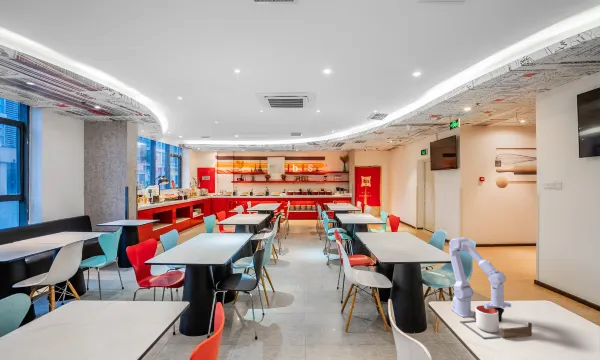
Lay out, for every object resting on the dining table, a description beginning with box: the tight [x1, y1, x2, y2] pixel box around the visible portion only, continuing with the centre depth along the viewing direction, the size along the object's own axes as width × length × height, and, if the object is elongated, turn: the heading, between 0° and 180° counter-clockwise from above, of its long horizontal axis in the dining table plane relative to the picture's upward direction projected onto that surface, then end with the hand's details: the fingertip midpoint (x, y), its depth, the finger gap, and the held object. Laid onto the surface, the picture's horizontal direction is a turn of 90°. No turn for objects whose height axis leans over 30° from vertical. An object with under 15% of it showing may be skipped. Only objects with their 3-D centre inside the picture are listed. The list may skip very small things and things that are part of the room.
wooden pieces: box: [474, 311, 533, 340], centre depth 152 cm, size 19×16×6 cm
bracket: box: [459, 319, 502, 340], centre depth 150 cm, size 17×10×1 cm, turn 9°
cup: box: [475, 304, 500, 333], centre depth 150 cm, size 10×10×10 cm
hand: (497, 321), depth 151 cm, fingers closed, pressing on cup
